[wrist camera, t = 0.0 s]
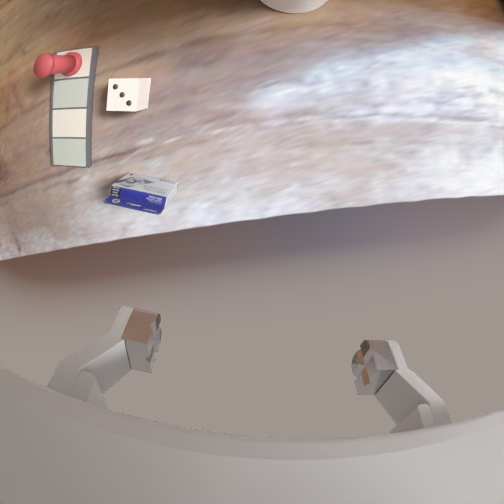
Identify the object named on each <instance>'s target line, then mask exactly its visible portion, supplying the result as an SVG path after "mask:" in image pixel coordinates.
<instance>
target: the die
mask: <svg viewBox="0 0 504 504" xmlns="http://www.w3.org/2000/svg"><path fill="white" fill-rule="evenodd" d="M150 83H151V78H115V79H109V84H108V95H107V109H106V111H135V112H136V111H139V110H143V109H146V108H148V100H149V91H150Z"/></svg>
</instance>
